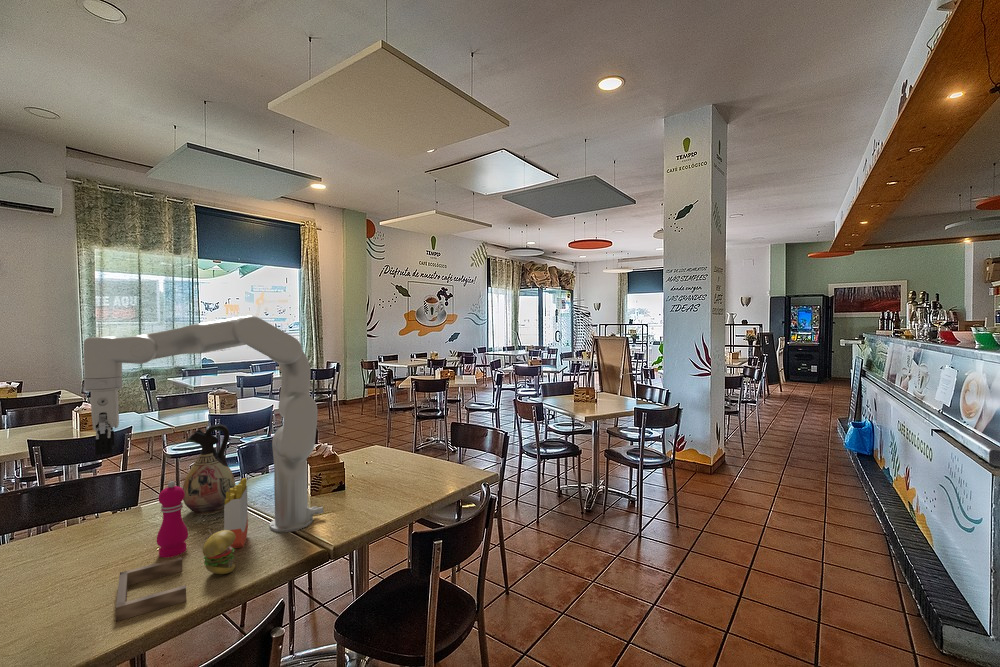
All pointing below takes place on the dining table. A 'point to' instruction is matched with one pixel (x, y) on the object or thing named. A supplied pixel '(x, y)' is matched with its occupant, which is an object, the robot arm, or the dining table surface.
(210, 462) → the ceramic jug
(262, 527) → the dining table surface
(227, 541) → the hamburger
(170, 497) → the pepper mill
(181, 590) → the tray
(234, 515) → the french fries container
